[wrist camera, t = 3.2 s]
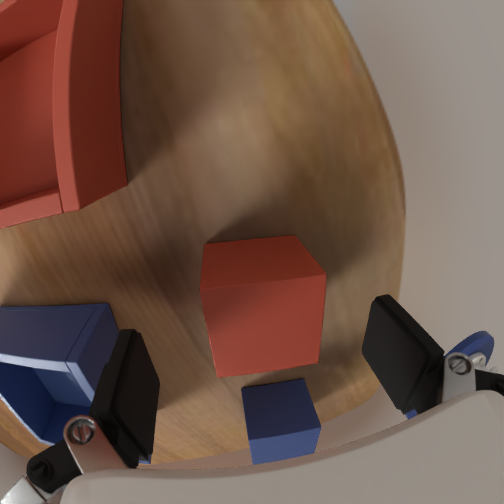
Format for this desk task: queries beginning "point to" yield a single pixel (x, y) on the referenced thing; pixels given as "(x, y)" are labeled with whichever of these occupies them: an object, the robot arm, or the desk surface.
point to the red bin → (59, 106)
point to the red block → (262, 304)
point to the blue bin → (53, 363)
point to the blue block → (280, 421)
